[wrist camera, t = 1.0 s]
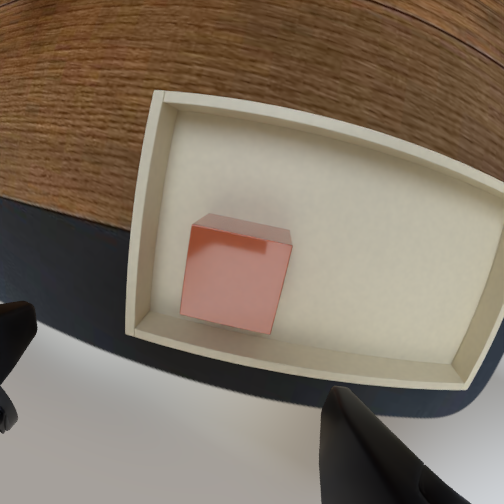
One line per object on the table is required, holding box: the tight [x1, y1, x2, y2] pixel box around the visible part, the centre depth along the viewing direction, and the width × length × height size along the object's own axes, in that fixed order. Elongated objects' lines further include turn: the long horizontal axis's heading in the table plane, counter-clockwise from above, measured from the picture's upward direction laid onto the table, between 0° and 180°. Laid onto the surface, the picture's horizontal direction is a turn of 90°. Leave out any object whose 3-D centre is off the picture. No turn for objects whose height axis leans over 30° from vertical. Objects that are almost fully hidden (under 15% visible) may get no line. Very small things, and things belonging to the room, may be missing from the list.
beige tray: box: [125, 90, 504, 390], centre depth 16 cm, size 22×13×3 cm, turn 79°
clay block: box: [180, 213, 293, 335], centre depth 16 cm, size 4×4×4 cm
